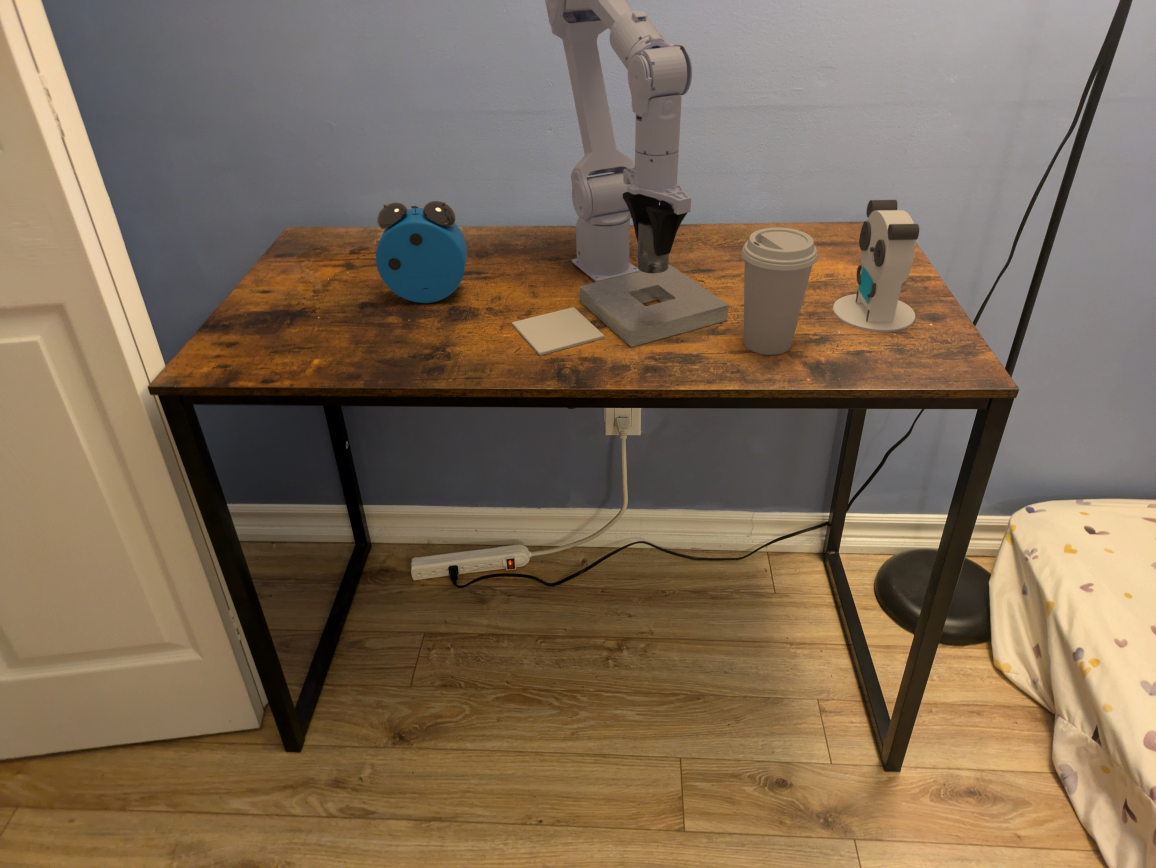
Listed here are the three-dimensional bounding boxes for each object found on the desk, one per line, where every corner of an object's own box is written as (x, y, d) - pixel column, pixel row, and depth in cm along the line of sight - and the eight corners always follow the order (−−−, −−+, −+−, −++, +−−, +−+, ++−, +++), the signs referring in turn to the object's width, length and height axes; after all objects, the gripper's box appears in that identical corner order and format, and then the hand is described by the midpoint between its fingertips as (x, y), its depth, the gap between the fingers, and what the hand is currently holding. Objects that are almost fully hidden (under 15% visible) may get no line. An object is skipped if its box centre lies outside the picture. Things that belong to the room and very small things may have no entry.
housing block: (579, 301, 117) (579, 286, 115) (669, 279, 122) (669, 264, 121) (630, 347, 105) (631, 331, 104) (727, 320, 111) (728, 304, 109)
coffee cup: (727, 326, 109) (738, 225, 100) (795, 326, 109) (811, 224, 100) (736, 361, 101) (748, 255, 93) (809, 360, 101) (828, 254, 92)
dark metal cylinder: (632, 264, 110) (632, 221, 107) (658, 258, 112) (660, 215, 108) (647, 275, 107) (648, 231, 103) (674, 269, 109) (676, 225, 105)
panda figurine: (824, 294, 117) (841, 197, 108) (899, 293, 116) (923, 196, 107) (843, 332, 107) (864, 229, 98) (925, 331, 107) (954, 228, 98)
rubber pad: (512, 324, 111) (511, 322, 111) (573, 309, 115) (573, 306, 114) (539, 355, 104) (539, 353, 104) (604, 338, 107) (604, 335, 107)
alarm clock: (472, 286, 122) (461, 193, 113) (469, 303, 117) (457, 208, 108) (390, 289, 122) (372, 197, 113) (383, 307, 117) (364, 212, 108)
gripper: (604, 140, 104) (604, 235, 112) (659, 169, 93) (655, 272, 101) (649, 132, 106) (646, 226, 114) (707, 160, 96) (700, 261, 104)
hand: (653, 247), depth 108 cm, fingers closed on dark metal cylinder, 4 cm apart
